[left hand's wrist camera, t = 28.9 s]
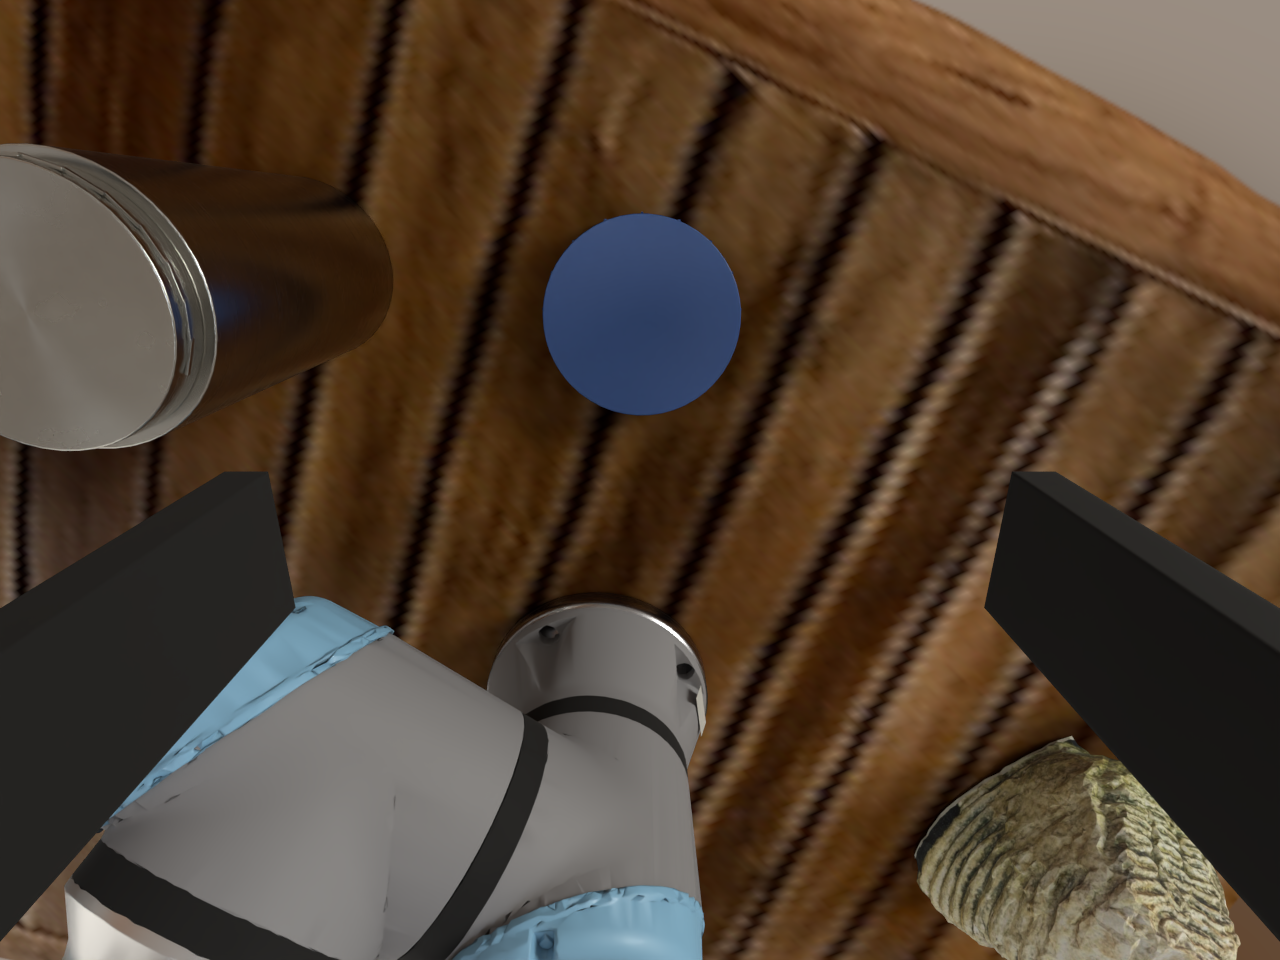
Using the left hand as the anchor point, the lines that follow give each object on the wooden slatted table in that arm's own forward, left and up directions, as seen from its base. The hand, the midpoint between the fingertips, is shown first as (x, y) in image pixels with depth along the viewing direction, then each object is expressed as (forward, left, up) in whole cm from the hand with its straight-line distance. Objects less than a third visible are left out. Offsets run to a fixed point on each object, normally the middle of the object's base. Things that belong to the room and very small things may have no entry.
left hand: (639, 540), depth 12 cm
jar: (-3, +19, -30) cm, 36 cm away
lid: (0, 0, -28) cm, 29 cm away
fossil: (-26, -38, -30) cm, 55 cm away
